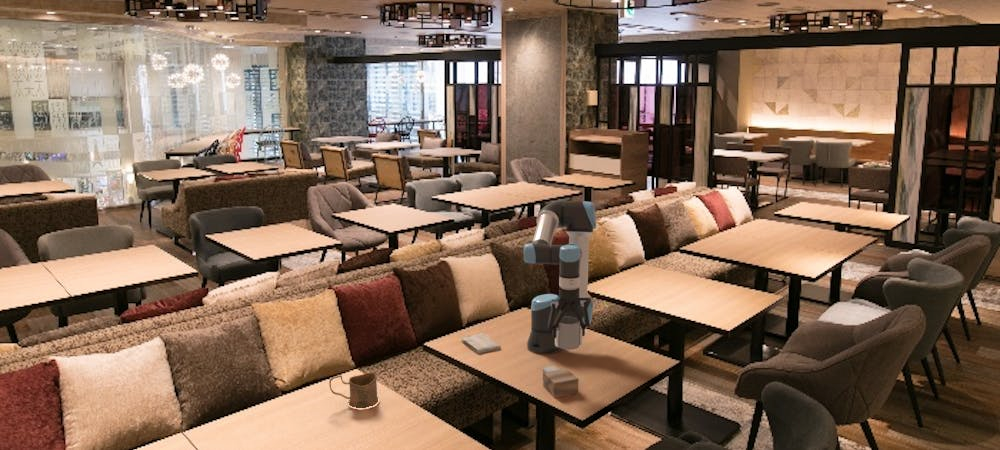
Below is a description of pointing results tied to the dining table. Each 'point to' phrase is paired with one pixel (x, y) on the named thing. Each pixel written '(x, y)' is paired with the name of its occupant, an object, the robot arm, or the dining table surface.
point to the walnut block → (560, 382)
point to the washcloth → (480, 343)
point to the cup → (569, 333)
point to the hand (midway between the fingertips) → (568, 344)
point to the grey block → (549, 369)
